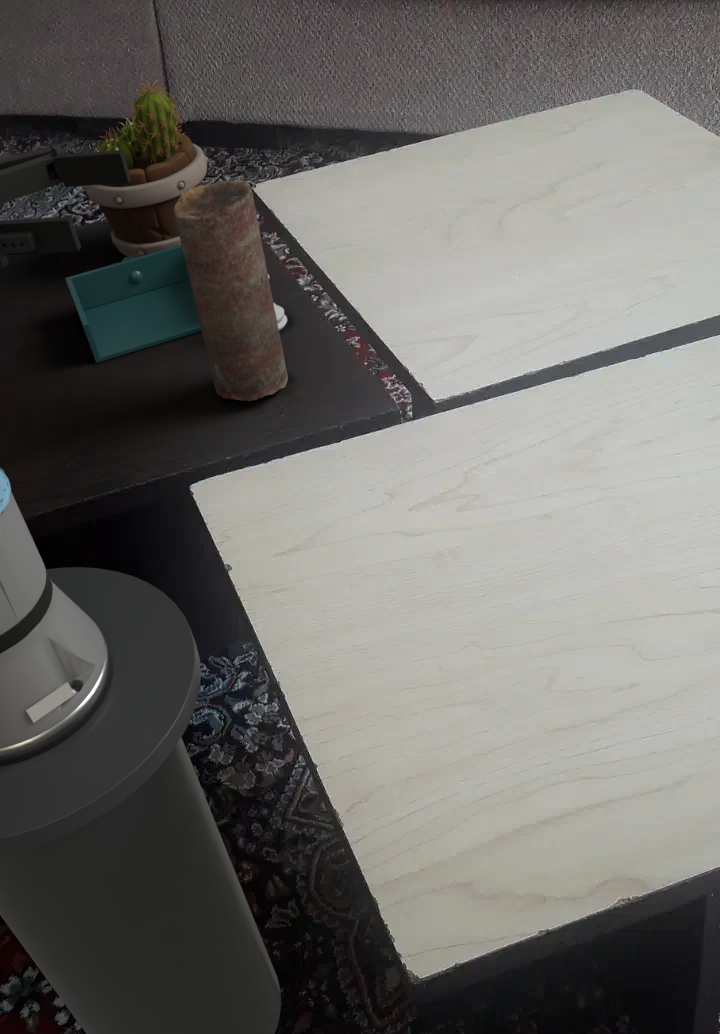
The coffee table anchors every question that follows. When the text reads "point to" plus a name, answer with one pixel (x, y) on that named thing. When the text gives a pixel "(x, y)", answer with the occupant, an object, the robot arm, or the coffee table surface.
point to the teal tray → (135, 303)
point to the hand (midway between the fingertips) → (101, 198)
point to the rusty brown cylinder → (231, 289)
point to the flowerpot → (149, 176)
